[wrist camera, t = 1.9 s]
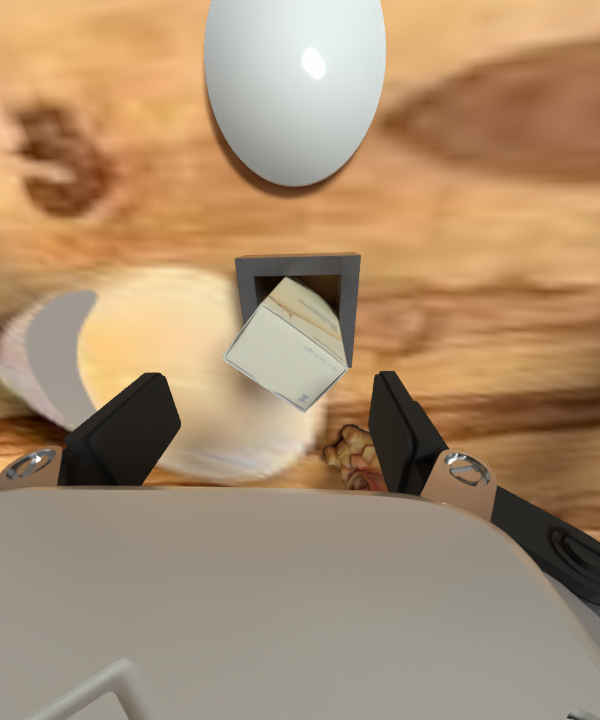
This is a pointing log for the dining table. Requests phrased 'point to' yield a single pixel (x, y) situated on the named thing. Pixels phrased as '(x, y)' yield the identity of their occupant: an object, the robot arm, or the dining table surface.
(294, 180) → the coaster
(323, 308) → the skincare box
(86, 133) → the dining table surface
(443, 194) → the dining table surface
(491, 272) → the dining table surface
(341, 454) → the figurine
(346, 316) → the socket block
